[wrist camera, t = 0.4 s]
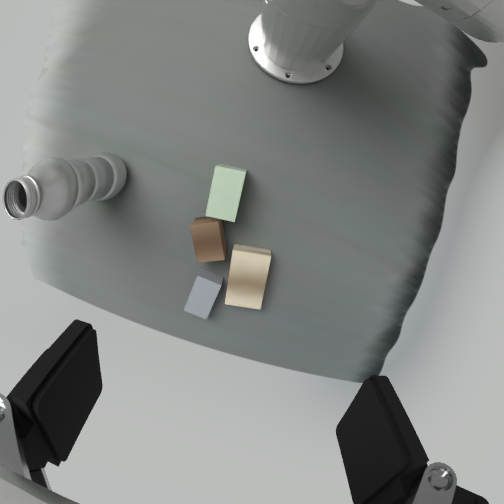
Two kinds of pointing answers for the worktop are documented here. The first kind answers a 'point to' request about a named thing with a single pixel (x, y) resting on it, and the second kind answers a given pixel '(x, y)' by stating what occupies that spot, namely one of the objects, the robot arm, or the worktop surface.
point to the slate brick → (203, 293)
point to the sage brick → (225, 192)
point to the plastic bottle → (63, 186)
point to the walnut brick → (209, 239)
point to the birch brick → (247, 276)
